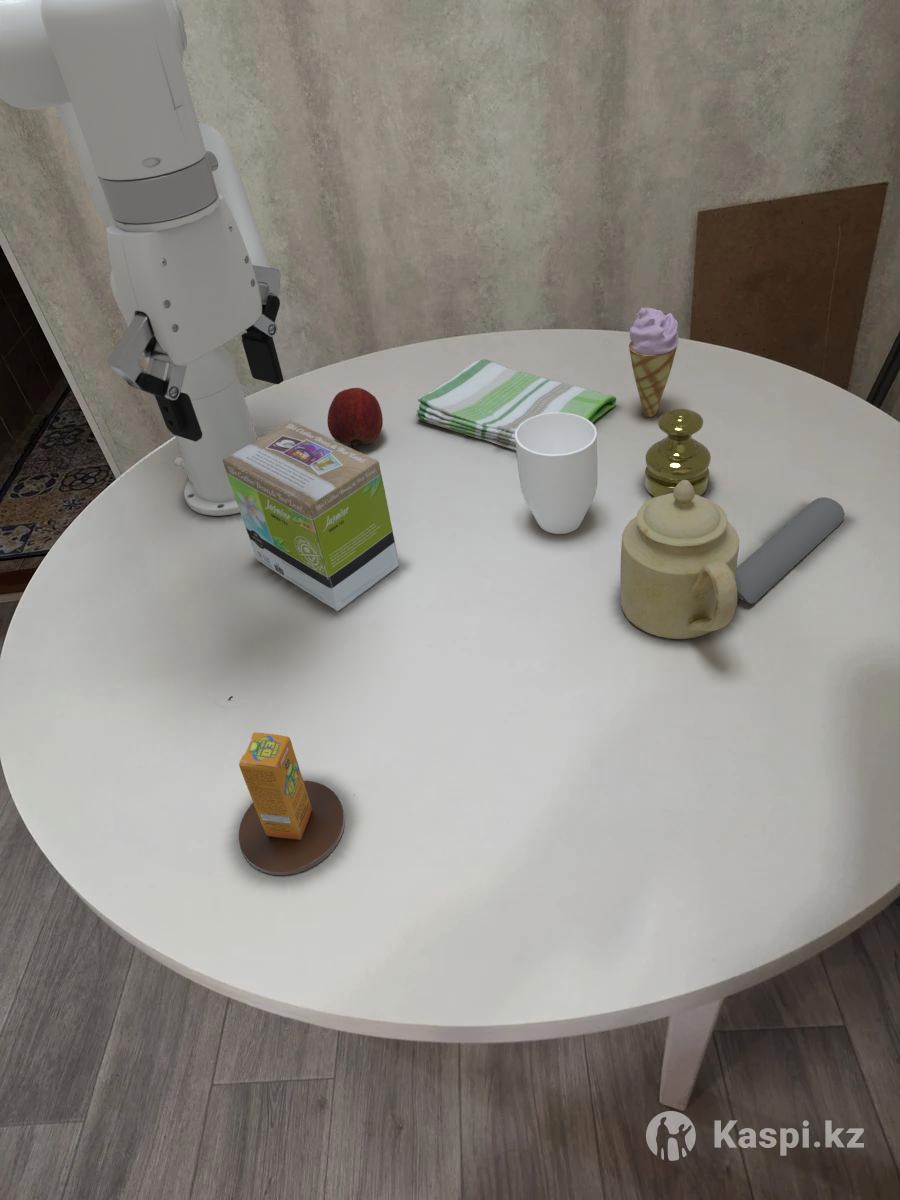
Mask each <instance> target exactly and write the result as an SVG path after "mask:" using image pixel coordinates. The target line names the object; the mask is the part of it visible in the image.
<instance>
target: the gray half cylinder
mask: <svg viewBox="0 0 900 1200" xmlns="http://www.w3.org/2000/svg"><path fill="white" fill-rule="evenodd" d="M845 515H846V513H845V510H844V508H843V506H842V505H841V504H840V503H839V502H837V500H835V499H832V498H830V497H825V496H824V497H823V496H822V497H818V498H816V499H814V500H812V501H811V502H810V503H809V504H808V505H807V506H805V508H803V509H802V510H800V512H799V513H798V514H796V515H795V516H794V517H793V518H792V519H791V520H789V521H788V522H787V523H786V524H785V525H784V526H783V527H782V528H780V529H779V530H778V531H777V532H776V533H774V534H773V535H772V536H771V537H770V538H769V539H768V540H766V542H764V543H763V544H762V545H761V546H759V548H757V549H756V550H755V551H754V552H753V553H751V554H750V555H749V556H748V557H747V558H746V559H744V561H743V562H741V563H740V564H739V565H737V568H736V575H735V581H736V586H737V599H739V600H740V601H741V600H742V601H743V602H745V603H747V604H751V605H753V604H754V603H756V602H757V601H758V600H759V599H761V598H762V597H763V596H764V595H765V594H766V593H767V592H768V591H769V590H770V589H771V588H773V586H775V585H776V584H777V583H778V582H779V581H780V580H782V578H783V577H785V575H787V573H789V572H790V571H791V570H792V569H793V568H794V567H795V566H796V565H798V563H799V562H801V561H802V560H803V559H804V558H805V557H806V556H807V555H808V554H809V553H810V552H811V551H812V550H814V549H815V548H816V546H818V545H819V544H820V543H821V542H822V541H824V539H826V538H827V537H828V535H830V534H831V533H832V532H833V531H834V530H835V529H837V528H838V526H840V524H842V523H843V521H844V519H845Z"/></svg>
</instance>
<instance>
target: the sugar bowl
mask: <svg viewBox="0 0 900 1200" xmlns="http://www.w3.org/2000/svg"><path fill="white" fill-rule="evenodd" d="M734 527H735V526H733V525H732V524H731V523H730V522H729V521H728V515H727V514H726V512H725V511H724V509H723V508H722V506H720V505H719V504H718V503H716V502H714V501H712V500H710V499H709V498H706V497H704V496H702V495H701V496H698V495H695V492H694V488H693V486H692V485H691V483H690V482H689V481H687V480H682V481H681V482H679V483H678V484H677V485H676V487H675V488H674V493H670V494H666V495H662V496H658V497H652V498H650V499H648V500H646V501H645V502H643V503H642V505H641V506H640V507H639V509H638V510H637V513H636V515H635V516H634V517H633V518H632V519H631V520H629V521H628V523H627V524H626V526H625V527H624V529H623V531H622V535H621V546H620V547H621V551H620V574H619V575H620V576H619V577H620V592H619V593H620V594H619V595H620V597H619V598H620V606H621V609H622V612H623V613H624V615H625V617H626V619H628V621H629V622H630V623H632V624H633V626H635V627H637V628H638V629H639V630H642V631H643V632H646V633H648V634H650V635H652V636H656V637H659V638H665V639H671V640H672V639H673V640H685V639H693V638H698V637H701V636H705V635H707V634H709V633H712V632H715V631H718V630H721V629H723V628H725V627H726V626H728V625H729V624H730V623H731V621H732V620H733V618H734V616H735V613H736V609H737V607H738V606H737V605H738V598H737V586H736V581H735V575H736V568H737V567H738V559H739V550H740V537H739V534H738V532H737V530H736V528H734Z"/></svg>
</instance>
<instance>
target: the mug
mask: <svg viewBox="0 0 900 1200" xmlns="http://www.w3.org/2000/svg"><path fill="white" fill-rule="evenodd" d="M597 431H598V430H597V428H596V426H595V424H594V423H591V422H590V421H589V420H587V419H586V418H584V417H581V416H578V415H575V414H570V413H562V412H554V413H545V414H540V415H536V416H533V417H531V418H529V419H527V420H525V421H524V422H522V423H521V424H520V425H519V426H518V427H517V429H516V431H515V442H516V450H515V452H516V461H517V470H518V479H519V485H520V489H521V495H522V497H523V499H524V501H525V503H526V504H527V506H528V508H529V510H530V512H531V513H532V515H533V517H534V519H535V521H536V522H537V524H538V525H539V528H541V529H542V530H543V531H545V532H547V533H550V534H553V535H554V534H555V535H565V534H569V533H572V532H574V531H576V530H577V529H578V528H579V527H580V526H581V524H582V522H583V520H584V518H585V516H586V514H587V513H588V510H589V508H590V507H591V505H592V502H593V501H594V499H595V496H596V493H597V488H598V432H597Z"/></svg>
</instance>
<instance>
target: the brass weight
mask: <svg viewBox="0 0 900 1200" xmlns="http://www.w3.org/2000/svg"><path fill="white" fill-rule="evenodd" d="M657 426H658V428H659V429H660V430H661V431H662V432H663V433H665V434H666V435H667V436H666V437H664V438H663V439H661V440H659V441H657V442H655V443H654V444H652V445H651V446H650V447H649V448H648V449H647V451H646V454H645V463H646V466H645V469H644V475H645V478H644V487H645V489H646V491H647V492H648V494H650V495H651V496H652V497H653V498H655V497H658V496H662V495H666V494H670V493H674V488H675V487H676V485H677V484H678V483H679V482H681V481H682V480H687V481H689V482H690V483H691V485H692V486H693V488H694V492H695V495H698V496H701V497H702V495H703V494H704V493H705V492H706V490H708V482H709V476H710V469H709V467H710V465H711V460H712V456H711V452H710V451H709V449H708V447H707V446H705V445H704V444H703V443H701V442H700V441H698V440H696V439H695V438H693V437H692V436H693V435H694V434H696V433H698V432H699V431H700V430H702V428H703V427H704V419H703V417H702V416H701V415H700V414H699V413H698V412H697V411H694V410H691V409H687V408H675V409H671V410H668V411H666V412H664V413H663V414H661V415H660V416H659V417H658V421H657Z"/></svg>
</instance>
